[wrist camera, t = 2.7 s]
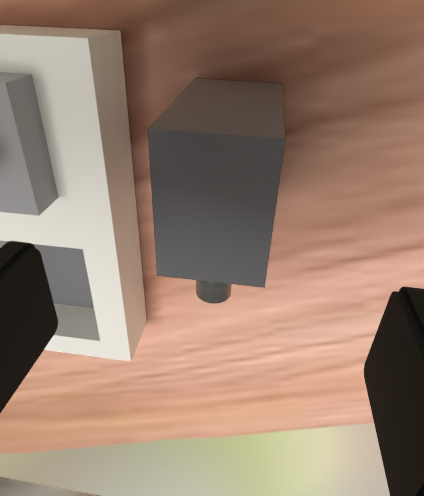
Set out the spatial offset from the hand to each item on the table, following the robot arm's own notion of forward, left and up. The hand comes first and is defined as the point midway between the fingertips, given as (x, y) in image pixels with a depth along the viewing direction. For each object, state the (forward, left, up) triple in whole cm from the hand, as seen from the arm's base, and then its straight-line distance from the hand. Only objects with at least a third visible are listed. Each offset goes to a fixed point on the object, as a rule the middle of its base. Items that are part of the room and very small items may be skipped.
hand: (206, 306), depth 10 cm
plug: (0, 0, -13) cm, 13 cm away
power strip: (+5, -11, -13) cm, 18 cm away
